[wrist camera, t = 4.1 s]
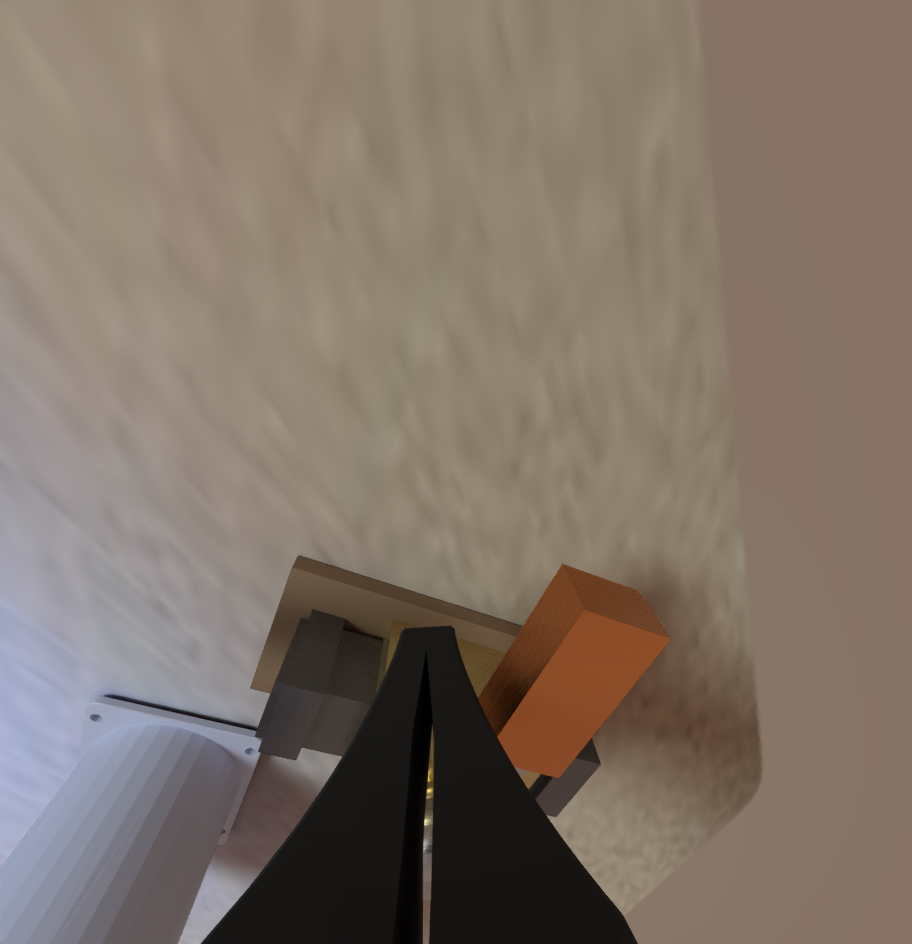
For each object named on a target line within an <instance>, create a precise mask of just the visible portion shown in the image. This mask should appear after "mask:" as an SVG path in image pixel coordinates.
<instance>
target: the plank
mask: <svg viewBox="0 0 912 944" xmlns="http://www.w3.org/2000/svg"><path fill="white" fill-rule="evenodd" d="M312 609H314V610H317V611H321V612H324V613H328V614H331V615H334V616H338V617H341V618H345V623H344V626H343V630H346V631H350V632H353V633H357V634H360V635H364V636H367V637H371V638H374V639H378V640H381V641H382V639H383V637H384V635H385V633H386V631H387V629H388V627H389V624H390V622H391V620H392V619H395V620H398V621H402V622H405V623H408V624H412V625H415V626H418V627H435V626H452V627H453V628H454V629H455V634H456V638H458V639H462V640H465V641H468V642H472V643H475V644H478V645H482V646H485V647H489V648H492V649H495V650H499V651H502V652H505V653H507V651H508V649H509V648H510V646H511V645H512V643H513V642H514V640H515V638H516V637H517V635H518V634H519V632H520V630H521V629H522V627H523V626H520V625H517V624H513V623H510V622H507V621H504V620H501V619H498V618H494V617H491V616H488V615H485V614H482V613H479V612H475V611H472V610H469V609H466V608H463V607H460V606H457V605H453V604H450V603H447V602H444V601H441V600H438V599H434V598H431V597H428V596H425V595H422V594H419V593H415V592H412V591H409V590H406V589H403V588H400V587H396V586H393V585H390V584H387V583H384V582H381V581H377V580H374V579H371V578H368V577H365V576H362V575H358V574H355V573H352V572H349V571H346V570H343V569H340V568H336V567H333V566H330V565H327V564H324V563H321V562H317V561H314V560H311V559H308V558H305V557H302V556H298V557H297V559H296V561H295V563H294V565H293V567H292V569H291V572H290V575H289V578H288V581H287V583H286V586H285V589H284V592H283V595H282V598H281V601H280V603H279V606H278V609H277V612H276V615H275V618H274V621H273V624H272V626H271V629H270V632H269V635H268V638H267V641H266V644H265V646H264V649H263V652H262V655H261V658H260V661H259V664H258V667H257V669H256V672H255V675H254V678H253V681H252V684H251V687H250V689H254V690H258V691H262V692H266V693H270V694H271V691H272V688H273V686H274V683H275V680H276V678H277V676H278V673H279V671H280V668H281V666H282V663H283V661H284V658H285V656H286V653H287V651H288V648H289V646H290V644H291V641H292V639H293V636H294V634H295V631H296V629H297V626H298V624H299V621H300V619H301V618H304V619H309V617H310V614H311V612H312Z"/></svg>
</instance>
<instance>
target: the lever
mask: <svg viewBox="0 0 912 944" xmlns="http://www.w3.org/2000/svg"><path fill="white" fill-rule="evenodd" d="M670 640H671V638H670V637H669V635H668V634H667V632H666V631H665V630H664V628H663V627H662V625H661V624H660V622H659V621H658V619H657V618H656V616H655V615H654V614H653V612H652V611H651V609H650V608H649V606H648V605H647V603H646V602H645V600H644V599H643V597H642V596H641V595H640V593H639V592H638V591H637V590H634V589H631V588H628V587H626V586H623V585H620V584H617V583H614V582H612V581H609V580H606V579H603V578H600V577H598V576H595V575H592V574H589V573H586V572H584V571H581V570H578V569H575V568H572V567H570V566H567V565H564V564H562V565H561V567H560V569H559V570H558V572H557V573H556V575H555V576H554V578H553V580H552V581H551V583H550V584H549V586H548V588H547V589H546V591H545V592H544V594H543V596H542V597H541V599H540V600H539V602H538V603H537V605H536V607H535V608H534V610H533V611H532V613H531V615H530V616H529V618H528V619H527V621H526V622H525V624H524V626H523V627H522V629H521V630H520V632H519V634H518V635H517V637H516V638H515V640H514V642H513V643H512V645H511V646H510V648H509V649H508V651H507V653H506V654H505V656H504V657H503V659H502V661H501V662H500V664H499V665H498V667H497V669H496V670H495V672H494V673H493V675H492V676H491V678H490V680H489V681H488V683H487V684H486V686H485V688H484V689H483V691H482V692H481V694H480V695H479V697H478V700H479V702H480V704H481V706H482V708H483V710H484V712H485V714H486V716H487V718H488V720H489V722H490V724H491V726H492V728H493V730H494V732H495V734H496V736H497V738H498V739H499V741H500V743H501V745H502V747H503V748H504V750H505V752H506V754H507V755H508V757H509V759H510V760H511V762H512V764H513V766H514V767H515V769H516V770H517V772H518V774H519V775H520V777H521V778H522V776H523V775H524V774H525V773H526V771H531V772H535V773H539V774H544V775H548V776H552V777H556V778H559V777H560V776H561V775H562V774H563V772H564V771H565V770H566V769H567V767H568V766H569V765H570V764H571V763H572V761H573V760H574V759H575V758H576V756H577V755H578V754H579V753H580V751H581V750H582V749H583V748H584V746H585V745H586V744H587V743H588V741H589V740H590V739H591V738H592V737H593V735H594V734H595V733H596V732H597V730H598V729H599V728H600V727H601V725H602V724H603V723H604V722H605V720H606V719H607V718H608V717H609V715H610V714H611V713H612V712H613V710H614V709H615V708H616V707H617V706H618V704H619V703H620V702H621V701H622V699H623V698H624V697H625V696H626V694H627V693H628V692H629V691H630V689H631V688H632V687H633V686H634V684H635V683H636V682H637V681H638V680H639V678H640V677H641V676H642V675H643V673H644V672H645V671H646V670H647V668H648V667H649V666H650V665H651V663H652V662H653V661H654V660H655V658H656V657H657V656H658V655H659V654H660V652H661V651H662V650H663V649H664V647H665V646H666V645H667V644H668V642H669V641H670ZM432 832H433V799H432V800H426V809H425V822H424V842H423V900H428V901H431V872H432Z"/></svg>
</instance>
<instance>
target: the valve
mask: <svg viewBox="0 0 912 944" xmlns="http://www.w3.org/2000/svg"><path fill="white" fill-rule="evenodd" d="M344 623H345V618H341V617H338V616H334V615H331V614H328V613H324V612H321V611H317V610H314V609H312V612H311V614H310V617H309V619H304V618H301V619H300V621H299V624H298V626H297V629H296V631H295V634H294V636H293V639H292V641H291V644H290V646H289V648H288V651H287V653H286V656H285V658H284V661H283V663H282V666H281V668H280V671H279V673H278V676H277V678H276V680H275V683H274V686H273V688H272V691H271V694H270V696H269V699H268V702H267V704H266V707H265V710H264V712H263V715H262V718H261V720H260V723H259V726H258V728H257V731H256V734H255V736H254V737H257V738H262V742H261V744H260V747H259V749H258V752H259V753H264V754H269V755H273V756H278V757H282V758H287V759H292V760H296V759H297V757H298V755H299V753H300V750H301V748H306V749H311V750H315V751H320V752H324V753H329V754H333V755H338V756H342V757H343V755H344V754H345V752H346V750H347V749H348V747H349V745H350V744H351V742H352V740H353V738H354V737H355V735H356V733H357V731H358V729H359V727H360V725H361V724H362V722H363V720H364V718H365V716H366V714H367V712H368V710H369V708H370V707H371V705H372V703H373V701H374V699H375V696H376V694H377V692H378V690H379V688H380V686H381V683H382V681H383V679H384V677H385V675H386V672H387V670H388V668H389V665H390V663H391V660H392V658H393V655H394V652H395V650H396V647H397V644H398V641H399V637H400V633H401V631H402V630H404V629H405V628H418V626H415V625H412V624H408V623H405V622H402V621H398V620H395V619H392V620H391V622H390V624H389V627H388V629H387V631H386V633H385V635H384V637H383V639H382V641H381V640H378V639H374V638H371V637H367V636H364V635H360V634H357V633H353V632H350V631H346V630H343V626H344ZM456 639H457V643H458V647H459V651H460V654H461V657H462V660H463V663H464V666H465V669H466V671H467V674H468V676H469V679H470V681H471V683H472V686H473V688H474V690H475V693H476V695H477V697H479V695H480V694H481V692H482V691H483V689H484V688H485V686H486V684H487V683H488V681H489V680H490V678H491V676H492V675H493V673H494V672H495V670H496V669H497V667H498V665H499V664H500V662H501V661H502V659H503V657H504V656H505V654H506V653H505V652H502V651H499V650H495V649H492V648H489V647H485V646H482V645H478V644H475V643H472V642H468V641H465V640H462V639H458V638H456ZM600 765H601V764H600V760H599V757H598V755H597V752H596V749H595V746H594V743H593V740H592V738H591V739H590V740H589V741H588V743H587V744H586V745H585V746H584V748H583V749H582V750H581V751H580V753H579V754H578V755H577V756H576V758H575V759H574V760H573V761H572V763H571V764H570V765H569V766H568V767H567V769H566V770H565V771H564V772H563V774H562V775H561V776H560V777H559V778H556V777H552V776H548V775H544V774H539V773H535V772H531V771H526V773H525V774H524V775H523V776H522V780H523V782H524V783H525V785H526V786H527V788H528V790H529V791H530V793H531V794H532V796H533V797H534V798H535V800H536V801H537V803H538V804H539V806H540V807H541V809H542V810H543V811H544V813H545V814H546V815H549V816H553V817H557V815H558V814H559V813H560V812H561V811H562V810H563V808H564V807H565V806H566V805H567V804H568V802H569V801H570V800H571V799H572V798H573V797H574V795H575V794H576V793H577V792H578V791H579V789H580V788H581V787H582V786H583V785H584V784H585V782H586V781H587V780H588V779H589V778H590V777H591V775H592V774H593V773H594V772H595V771H596V769H597V768H598V767H599V766H600ZM433 780H434V736H433V725H432V735H431V747H430V760H429V772H428V785H427V797H426V800H432V799H433Z"/></svg>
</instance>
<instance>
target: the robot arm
mask: <svg viewBox="0 0 912 944" xmlns="http://www.w3.org/2000/svg"><path fill="white" fill-rule="evenodd" d="M432 725H433V736H434V780H433V832H432V872H431V906H430V939H429V944H638V943H637V941H636V939H635V937H634V935H633V933H632V931H631V930H630V928H629V926H628V924H627V922H626V920H625V918H624V916H623V915H622V913H621V912H620V911H619V910H618V908H617V907H616V906H615V905H614V903H613V902H612V901H611V900H610V899H609V897H608V896H607V895H606V894H605V893H604V891H603V890H602V889H601V888H600V886H599V885H598V884H597V883H596V881H595V880H594V879H593V878H592V876H591V875H590V874H589V873H588V871H587V870H586V869H585V868H584V866H583V865H582V864H581V862H580V861H579V860H578V858H577V857H576V856H575V855H574V853H573V852H572V851H571V849H570V848H569V847H568V845H567V844H566V843H565V841H564V840H563V839H562V837H561V836H560V835H559V833H558V832H557V830H556V829H555V827H554V826H553V824H552V823H551V822H550V820H549V819H548V817H547V816H546V814H545V813H544V811H543V810H542V809H541V807H540V806H539V804H538V803H537V801H536V800H535V798H534V797H533V796H532V794H531V793H530V791H529V790H528V788H527V786H526V785H525V783H524V782H523V780H522V778H521V777H520V775H519V774H518V772H517V770H516V769H515V767H514V766H513V764H512V762H511V760H510V759H509V757H508V755H507V754H506V752H505V750H504V748H503V747H502V745H501V743H500V741H499V739H498V738H497V736H496V734H495V732H494V730H493V728H492V726H491V724H490V722H489V720H488V718H487V716H486V714H485V712H484V710H483V708H482V706H481V704H480V702H479V700H478V697H477V695H476V693H475V690H474V688H473V686H472V683H471V681H470V679H469V676H468V674H467V671H466V669H465V666H464V663H463V660H462V657H461V654H460V651H459V647H458V643H457V639H456V634H455V629H454V628H453V627H452V626H435V627H418V628H405V629H404V630H402V631H401V633H400V637H399V641H398V644H397V647H396V650H395V652H394V655H393V658H392V660H391V663H390V665H389V668H388V670H387V672H386V675H385V677H384V679H383V681H382V683H381V686H380V688H379V690H378V692H377V694H376V696H375V699H374V701H373V703H372V705H371V707H370V708H369V710H368V712H367V714H366V716H365V718H364V720H363V722H362V724H361V725H360V727H359V729H358V731H357V733H356V735H355V737H354V738H353V740H352V742H351V744H350V745H349V747H348V749H347V750H346V752H345V754H344V755H343V757H342V759H341V760H340V762H339V764H338V765H337V767H336V768H335V770H334V772H333V773H332V775H331V776H330V778H329V779H328V781H327V782H326V784H325V785H324V787H323V788H322V790H321V791H320V793H319V794H318V796H317V797H316V799H315V800H314V802H313V803H312V805H311V806H310V808H309V809H308V810H307V812H306V813H305V815H304V816H303V818H302V819H301V820H300V822H299V823H298V824H297V826H296V827H295V829H294V830H293V831H292V833H291V834H290V835H289V836H288V838H287V839H286V840H285V842H284V843H283V844H282V846H281V847H280V848H279V849H278V851H277V852H276V853H275V855H274V856H273V857H272V859H271V860H270V861H269V862H268V864H267V865H266V866H265V868H264V869H263V870H262V872H261V873H260V874H259V875H258V877H257V878H256V879H255V880H254V882H253V883H252V884H251V885H250V887H249V888H248V889H247V890H246V891H245V893H244V894H243V895H242V896H241V897H240V898H239V900H238V901H237V902H236V903H235V904H234V905H233V907H232V908H231V909H230V910H229V911H228V912H227V914H226V915H225V916H224V917H223V918H222V919H221V921H220V922H219V923H218V924H217V925H216V926H215V928H214V929H213V930H212V931H211V932H210V934H209V935H208V936H207V937H206V938H205V939H204V941H203V942H202V943H201V944H423V842H424V822H425V809H426V797H427V785H428V772H429V760H430V747H431V735H432ZM255 734H256V731H254V730H249V729H245V728H241V727H236V726H232V725H227V724H223V723H219V722H214V721H210V720H205V719H201V718H197V717H192V716H188V715H183V714H179V713H175V712H170V711H166V710H161V709H157V708H153V707H148V706H144V705H139V704H135V703H131V702H126V701H122V700H118V699H113V698H109V697H104V696H99V697H95V698H93V699H92V700H91V701H90V702H89V704H88V705H87V707H86V712H85V718H84V725H83V731H82V737H81V744H80V750H79V757H78V763H77V767H76V769H75V770H74V771H73V773H72V774H71V775H70V777H69V778H68V779H67V781H66V782H65V783H64V785H63V786H62V787H61V788H60V790H59V791H58V792H57V794H56V795H55V796H54V798H53V799H52V800H51V802H50V803H49V804H48V806H47V807H46V808H45V810H44V811H43V812H42V814H41V815H40V816H39V818H38V819H37V820H36V822H35V823H34V824H33V826H32V827H31V828H30V830H29V831H28V832H27V834H26V835H25V836H24V838H23V839H22V840H21V842H20V843H19V844H18V846H17V847H16V848H15V850H14V851H13V852H12V854H11V855H10V856H9V858H8V859H7V860H6V862H5V863H4V864H3V866H2V867H1V868H0V944H178V942H179V940H180V937H181V935H182V932H183V929H184V927H185V924H186V922H187V919H188V917H189V914H190V912H191V909H192V906H193V904H194V901H195V899H196V896H197V894H198V891H199V889H200V886H201V884H202V881H203V878H204V876H205V873H206V871H207V868H208V866H209V863H210V861H211V858H212V855H213V853H214V850H215V848H216V846H220V845H223V844H225V843H226V841H227V839H228V836H229V834H230V831H231V829H232V826H233V823H234V821H235V818H236V816H237V813H238V811H239V808H240V806H241V803H242V801H243V798H244V795H245V793H246V790H247V788H248V785H249V783H250V780H251V778H252V775H253V773H254V770H255V767H256V765H257V762H258V760H259V757H260V755H261V753H259V752H258V749H259V747H260V744H261V742H262V738H257V737H254V736H255Z"/></svg>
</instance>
